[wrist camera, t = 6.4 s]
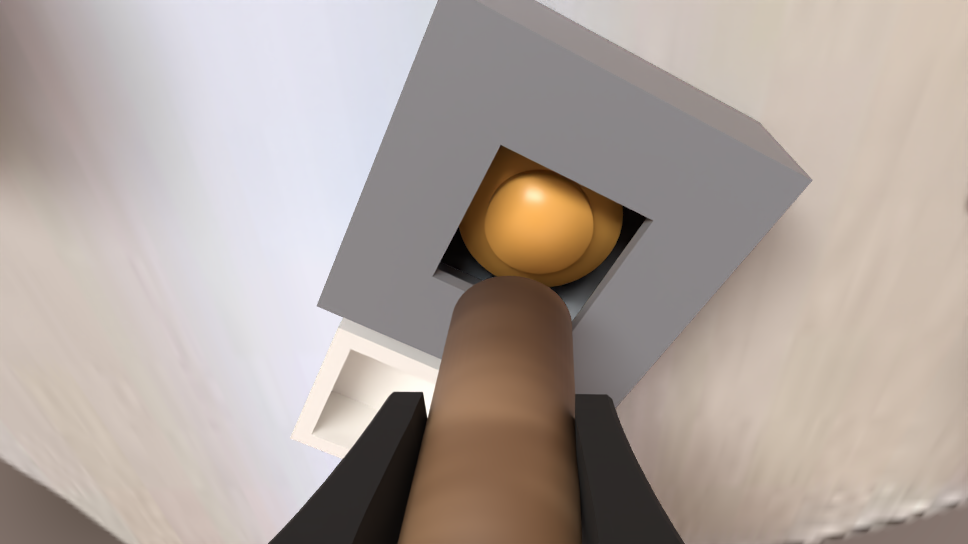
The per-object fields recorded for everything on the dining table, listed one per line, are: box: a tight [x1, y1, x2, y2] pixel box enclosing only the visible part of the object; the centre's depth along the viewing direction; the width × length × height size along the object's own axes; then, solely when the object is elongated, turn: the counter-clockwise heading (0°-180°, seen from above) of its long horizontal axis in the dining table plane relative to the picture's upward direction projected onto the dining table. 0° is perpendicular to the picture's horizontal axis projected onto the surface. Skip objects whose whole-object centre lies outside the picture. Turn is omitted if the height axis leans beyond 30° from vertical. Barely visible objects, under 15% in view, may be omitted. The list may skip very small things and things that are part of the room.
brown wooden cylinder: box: [397, 276, 582, 544], centre depth 11 cm, size 3×3×9 cm
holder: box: [290, 317, 442, 459], centre depth 24 cm, size 6×6×3 cm
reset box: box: [317, 0, 812, 408], centre depth 18 cm, size 10×10×4 cm
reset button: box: [459, 145, 623, 287], centre depth 18 cm, size 5×5×1 cm
